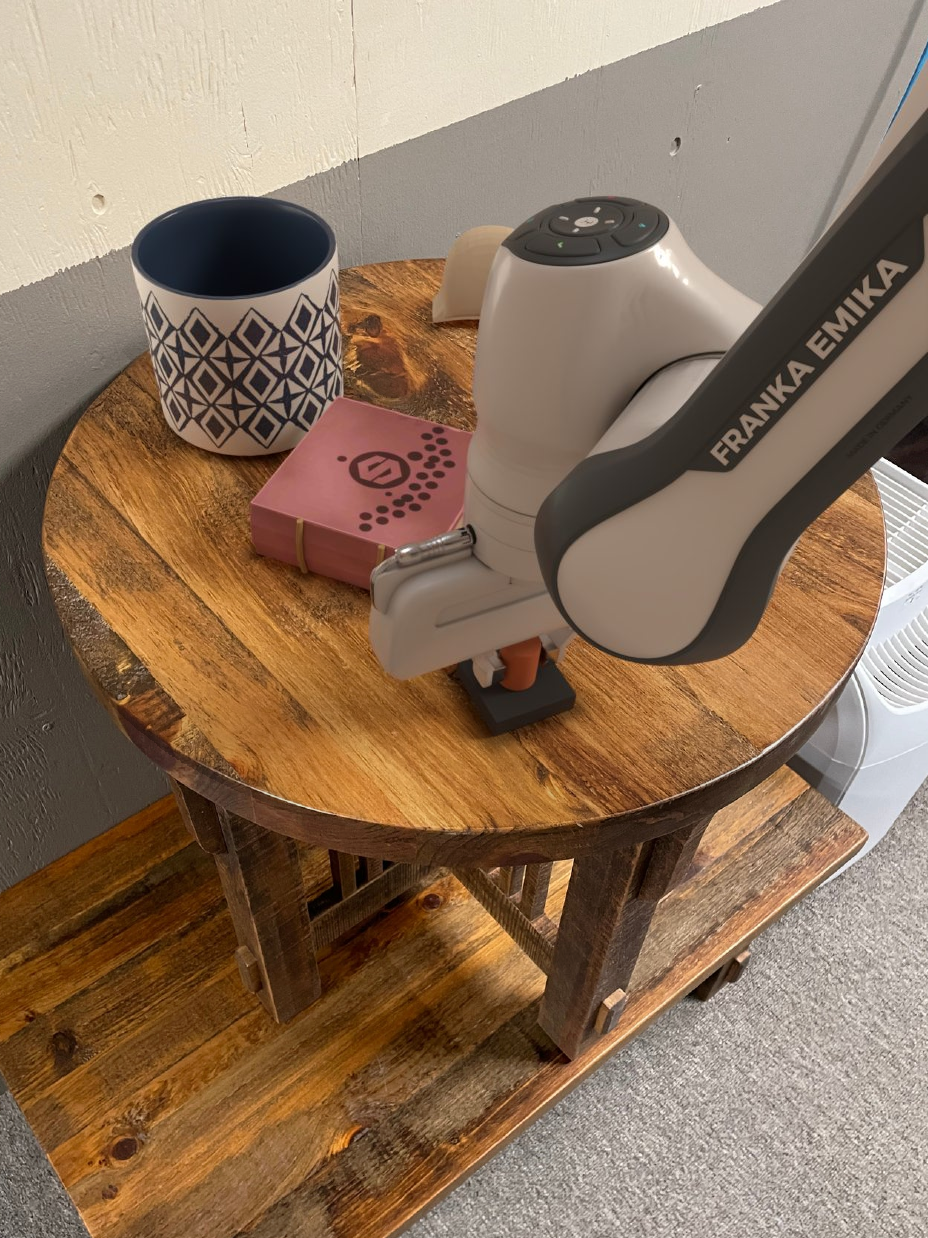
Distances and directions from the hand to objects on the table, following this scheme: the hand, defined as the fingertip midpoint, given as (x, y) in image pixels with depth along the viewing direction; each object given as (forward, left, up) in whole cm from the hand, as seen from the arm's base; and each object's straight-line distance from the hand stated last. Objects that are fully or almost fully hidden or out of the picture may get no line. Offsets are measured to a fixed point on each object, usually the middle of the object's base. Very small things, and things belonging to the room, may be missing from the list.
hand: (517, 667), depth 66 cm
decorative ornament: (-14, -44, -3) cm, 47 cm away
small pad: (0, 0, -2) cm, 2 cm away
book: (+2, -19, -3) cm, 19 cm away
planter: (+6, -38, -3) cm, 39 cm away
